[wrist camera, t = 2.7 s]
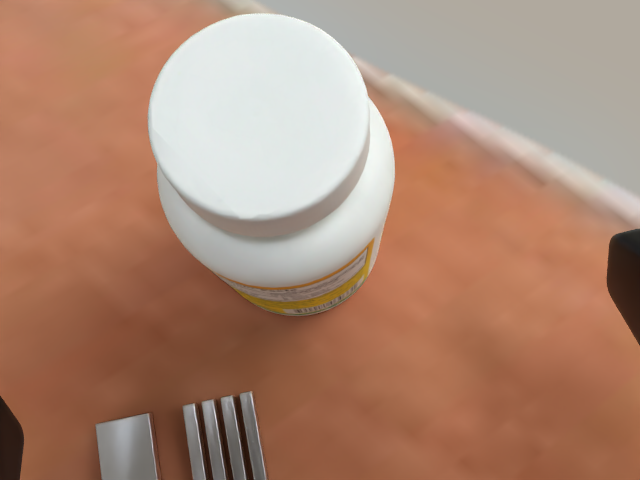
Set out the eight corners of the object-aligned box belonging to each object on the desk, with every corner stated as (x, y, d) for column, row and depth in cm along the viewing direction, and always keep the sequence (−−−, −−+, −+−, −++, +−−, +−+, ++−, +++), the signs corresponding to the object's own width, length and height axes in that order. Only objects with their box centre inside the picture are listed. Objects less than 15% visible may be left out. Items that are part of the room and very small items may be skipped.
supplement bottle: (336, 345, 19) (324, 318, 10) (190, 273, 20) (48, 183, 10) (406, 198, 20) (457, 45, 11) (264, 134, 21) (196, -62, 11)
